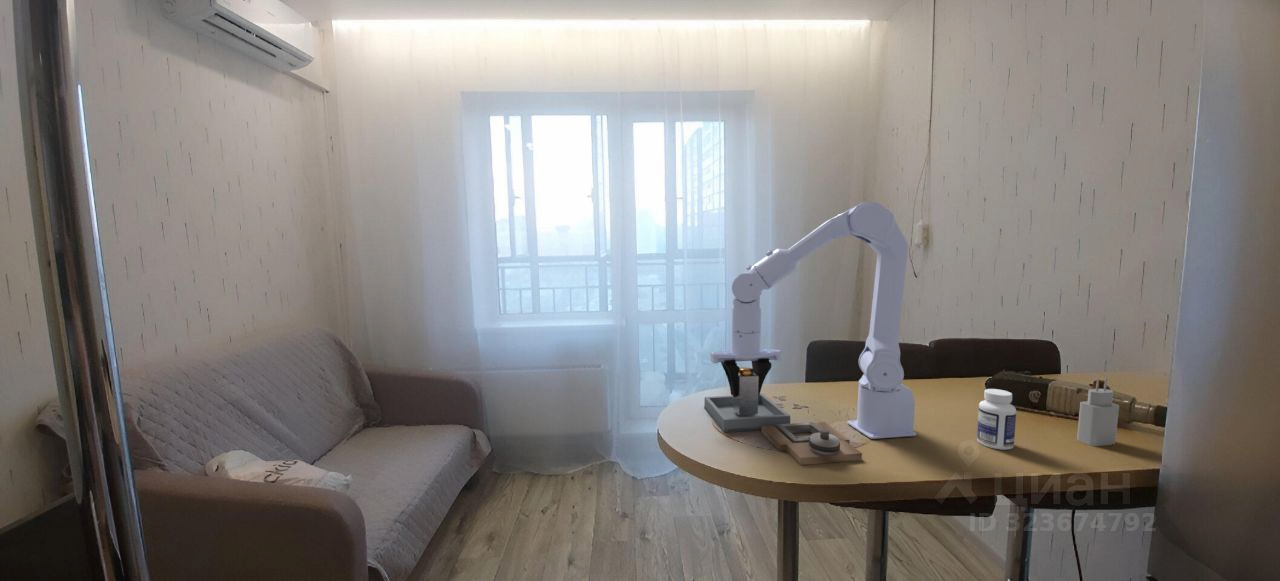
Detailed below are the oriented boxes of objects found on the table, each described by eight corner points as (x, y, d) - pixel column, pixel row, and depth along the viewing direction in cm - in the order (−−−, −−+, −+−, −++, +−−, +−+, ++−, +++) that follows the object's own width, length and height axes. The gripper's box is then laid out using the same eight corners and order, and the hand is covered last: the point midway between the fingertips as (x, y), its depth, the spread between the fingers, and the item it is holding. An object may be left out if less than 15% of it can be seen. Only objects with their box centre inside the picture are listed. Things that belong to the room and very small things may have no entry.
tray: (762, 404, 106) (762, 393, 106) (790, 428, 93) (790, 415, 93) (704, 407, 104) (704, 397, 104) (723, 432, 91) (724, 420, 91)
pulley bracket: (824, 427, 93) (825, 406, 93) (868, 459, 79) (869, 434, 79) (761, 432, 91) (761, 410, 91) (794, 465, 78) (795, 440, 77)
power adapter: (1117, 443, 85) (1124, 379, 84) (1093, 446, 84) (1100, 381, 83) (1097, 436, 88) (1104, 374, 87) (1074, 439, 87) (1080, 376, 86)
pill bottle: (1006, 440, 87) (1010, 388, 86) (1018, 452, 82) (1023, 398, 81) (972, 436, 89) (975, 386, 88) (982, 448, 84) (986, 395, 83)
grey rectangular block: (750, 407, 101) (751, 366, 100) (757, 413, 97) (758, 371, 96) (732, 408, 100) (733, 367, 99) (739, 415, 96) (739, 372, 95)
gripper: (771, 326, 102) (770, 387, 103) (706, 328, 100) (706, 390, 101) (786, 332, 95) (784, 397, 96) (716, 334, 93) (716, 401, 94)
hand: (745, 394), depth 98 cm, fingers open, 4 cm apart
